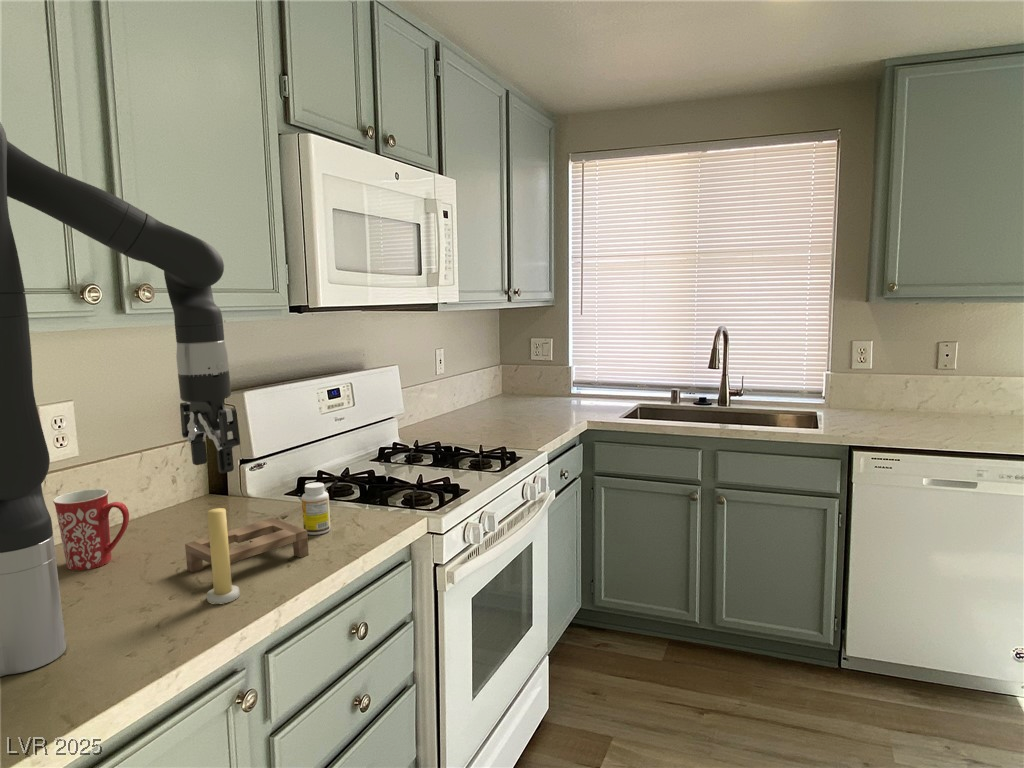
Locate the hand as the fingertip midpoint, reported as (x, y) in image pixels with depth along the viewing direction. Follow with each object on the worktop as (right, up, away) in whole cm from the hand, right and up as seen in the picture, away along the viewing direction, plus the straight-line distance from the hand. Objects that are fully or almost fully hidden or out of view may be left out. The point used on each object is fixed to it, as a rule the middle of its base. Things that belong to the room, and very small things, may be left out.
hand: (213, 467), depth 113 cm
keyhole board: (-1, -20, +18) cm, 27 cm away
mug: (-30, -21, +19) cm, 41 cm away
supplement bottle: (+7, -18, +35) cm, 40 cm away
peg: (0, -22, +3) cm, 22 cm away
